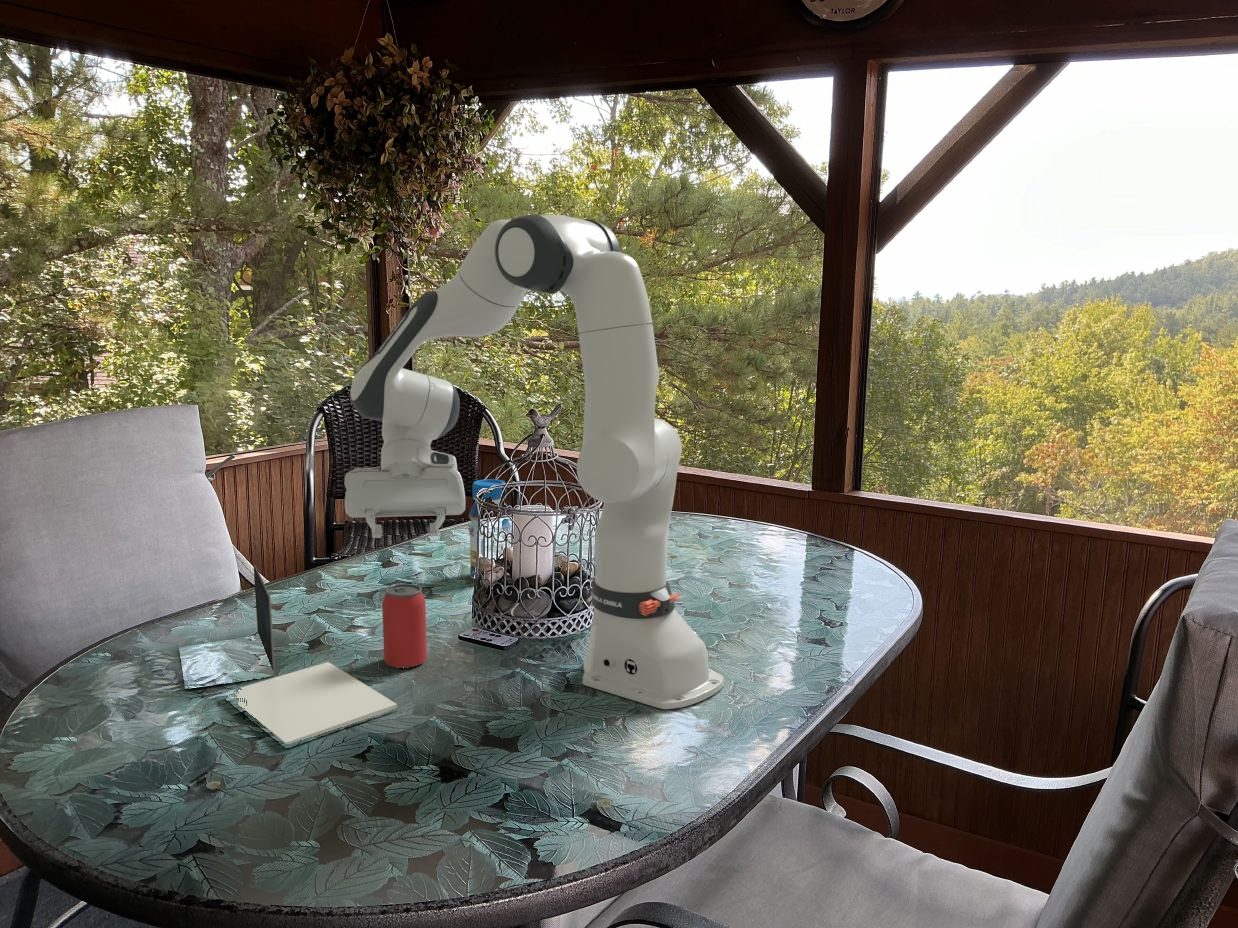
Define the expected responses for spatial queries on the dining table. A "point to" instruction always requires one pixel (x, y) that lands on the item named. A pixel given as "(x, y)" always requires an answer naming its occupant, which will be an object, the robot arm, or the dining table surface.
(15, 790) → the dining table surface
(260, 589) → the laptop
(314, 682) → the ceramic tile
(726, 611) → the dining table surface
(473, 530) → the beverage bottle
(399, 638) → the beer can
